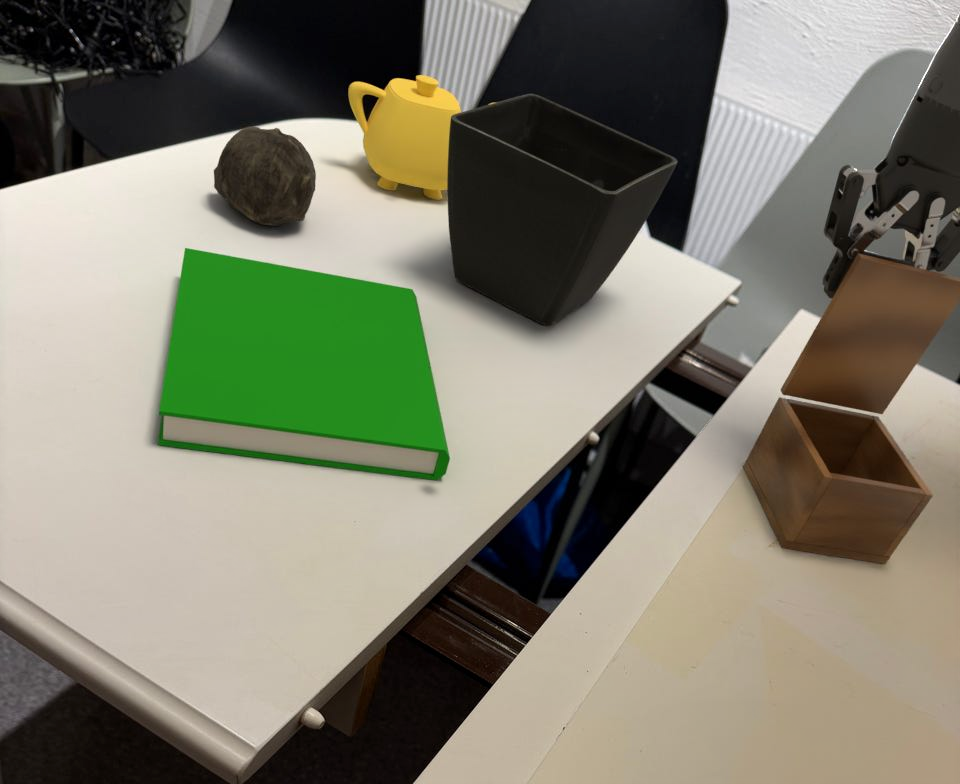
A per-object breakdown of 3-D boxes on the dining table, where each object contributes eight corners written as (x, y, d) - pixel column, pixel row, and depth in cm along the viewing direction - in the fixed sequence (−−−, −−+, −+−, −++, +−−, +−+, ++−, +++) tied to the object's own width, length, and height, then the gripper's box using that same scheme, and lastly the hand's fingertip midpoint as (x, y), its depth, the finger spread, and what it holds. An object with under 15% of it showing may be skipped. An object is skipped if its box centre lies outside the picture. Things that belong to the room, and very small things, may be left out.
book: (158, 444, 74) (159, 411, 72) (183, 278, 93) (185, 247, 91) (443, 481, 80) (452, 450, 78) (411, 317, 99) (417, 290, 97)
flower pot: (559, 351, 103) (614, 190, 91) (412, 275, 106) (447, 112, 95) (626, 304, 116) (681, 159, 105) (493, 238, 120) (532, 92, 109)
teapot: (494, 218, 125) (521, 116, 117) (340, 187, 119) (356, 77, 111) (478, 178, 134) (502, 81, 126) (334, 148, 129) (349, 43, 120)
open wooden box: (885, 564, 88) (933, 495, 83) (782, 547, 86) (824, 476, 81) (837, 482, 97) (878, 416, 92) (742, 465, 95) (778, 396, 90)
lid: (970, 284, 82) (945, 251, 85) (861, 257, 79) (839, 225, 83) (882, 414, 91) (863, 380, 95) (782, 394, 89) (766, 360, 93)
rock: (228, 175, 111) (244, 88, 104) (319, 220, 112) (341, 137, 105) (190, 211, 104) (204, 121, 97) (287, 258, 106) (308, 173, 98)
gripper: (1017, 108, 81) (908, 299, 93) (868, 64, 78) (774, 267, 89) (1063, 137, 76) (941, 336, 87) (906, 92, 73) (800, 304, 84)
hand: (857, 300), depth 88 cm, fingers closed on lid, 5 cm apart
